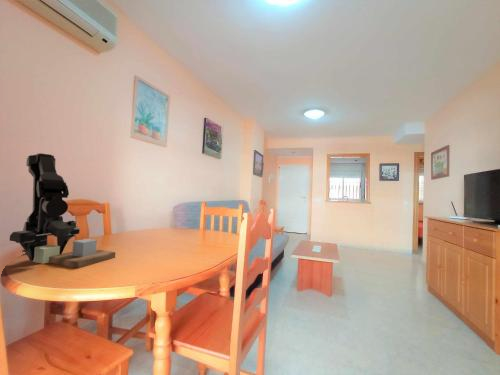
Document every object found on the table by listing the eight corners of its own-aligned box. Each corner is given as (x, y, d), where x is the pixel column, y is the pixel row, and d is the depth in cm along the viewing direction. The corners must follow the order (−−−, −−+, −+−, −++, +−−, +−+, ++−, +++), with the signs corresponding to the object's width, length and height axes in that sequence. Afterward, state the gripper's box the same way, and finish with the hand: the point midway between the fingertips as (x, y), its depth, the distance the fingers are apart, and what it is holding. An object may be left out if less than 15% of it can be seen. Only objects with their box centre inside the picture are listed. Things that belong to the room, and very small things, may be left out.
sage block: (33, 261, 80) (34, 247, 80) (49, 258, 84) (50, 244, 85) (42, 263, 78) (44, 249, 78) (58, 260, 83) (59, 246, 83)
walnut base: (49, 262, 79) (49, 256, 79) (87, 253, 93) (88, 248, 93) (78, 268, 75) (79, 262, 75) (115, 257, 89) (115, 252, 89)
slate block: (72, 255, 82) (73, 241, 83) (85, 252, 87) (86, 238, 87) (82, 256, 81) (83, 242, 81) (95, 253, 86) (96, 240, 86)
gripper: (34, 217, 70) (30, 268, 70) (91, 213, 88) (88, 254, 88) (10, 214, 74) (6, 263, 73) (70, 211, 92) (67, 250, 91)
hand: (46, 257), depth 81 cm, fingers open, 8 cm apart
